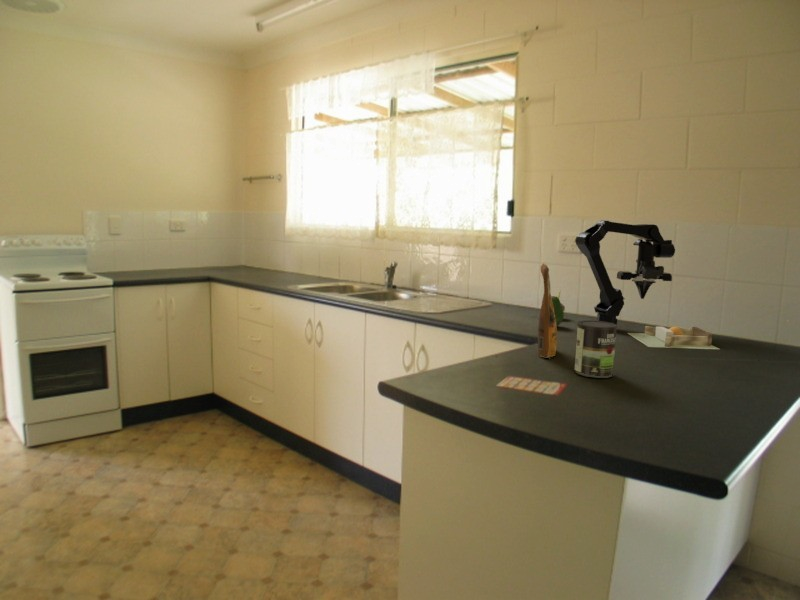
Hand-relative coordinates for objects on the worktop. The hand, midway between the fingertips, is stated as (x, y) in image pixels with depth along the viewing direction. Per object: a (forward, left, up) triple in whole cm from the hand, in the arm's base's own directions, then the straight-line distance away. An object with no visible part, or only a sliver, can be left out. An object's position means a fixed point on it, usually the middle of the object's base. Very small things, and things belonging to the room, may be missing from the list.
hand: (642, 298), depth 220 cm
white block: (+1, -21, -12) cm, 24 cm away
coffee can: (-35, -66, -12) cm, 76 cm away
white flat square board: (+4, -21, -12) cm, 24 cm away
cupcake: (-29, +18, -12) cm, 36 cm away
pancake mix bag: (-44, -44, -12) cm, 63 cm away
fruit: (-33, 0, -12) cm, 35 cm away
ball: (+5, -21, -9) cm, 23 cm away
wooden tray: (+6, -21, -12) cm, 25 cm away
